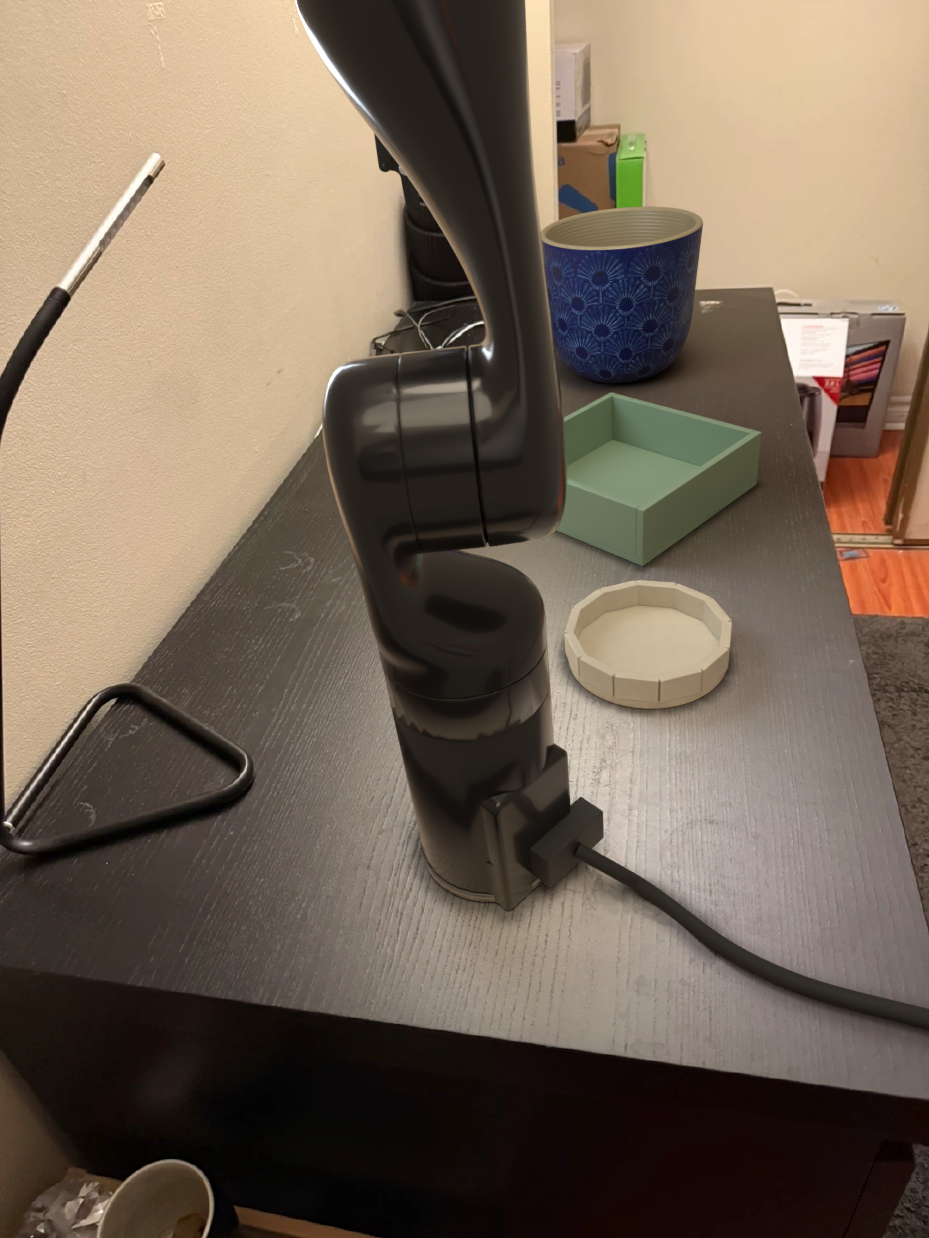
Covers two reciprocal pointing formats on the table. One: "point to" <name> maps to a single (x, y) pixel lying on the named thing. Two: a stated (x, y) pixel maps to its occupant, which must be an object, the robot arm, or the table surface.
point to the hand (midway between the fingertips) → (460, 199)
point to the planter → (622, 289)
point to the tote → (650, 474)
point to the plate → (648, 644)
